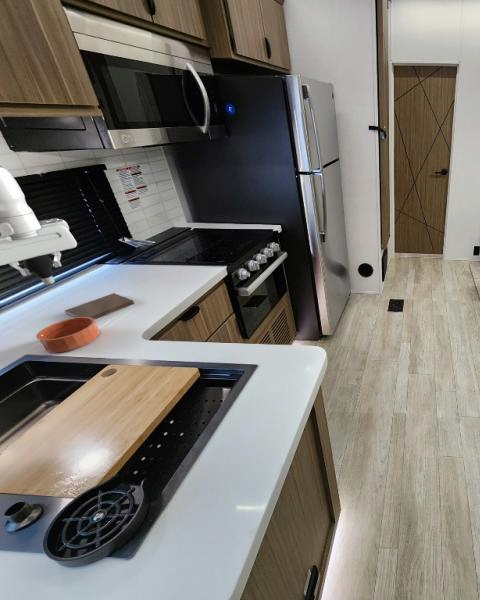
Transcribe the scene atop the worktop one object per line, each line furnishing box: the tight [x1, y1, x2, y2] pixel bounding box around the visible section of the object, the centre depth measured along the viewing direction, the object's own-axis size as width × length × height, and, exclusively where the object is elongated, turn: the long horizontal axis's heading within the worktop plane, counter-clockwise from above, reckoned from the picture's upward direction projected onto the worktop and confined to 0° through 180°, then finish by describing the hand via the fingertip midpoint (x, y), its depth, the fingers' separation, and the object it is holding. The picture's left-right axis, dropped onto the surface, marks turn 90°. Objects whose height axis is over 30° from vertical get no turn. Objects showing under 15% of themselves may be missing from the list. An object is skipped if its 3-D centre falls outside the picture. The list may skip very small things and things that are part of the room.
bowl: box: [36, 317, 101, 353], centre depth 105 cm, size 14×14×5 cm
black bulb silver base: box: [23, 254, 55, 286], centre depth 98 cm, size 6×6×10 cm
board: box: [64, 292, 135, 320], centre depth 125 cm, size 16×14×2 cm
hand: (42, 270), depth 98 cm, fingers closed on black bulb silver base, 6 cm apart
